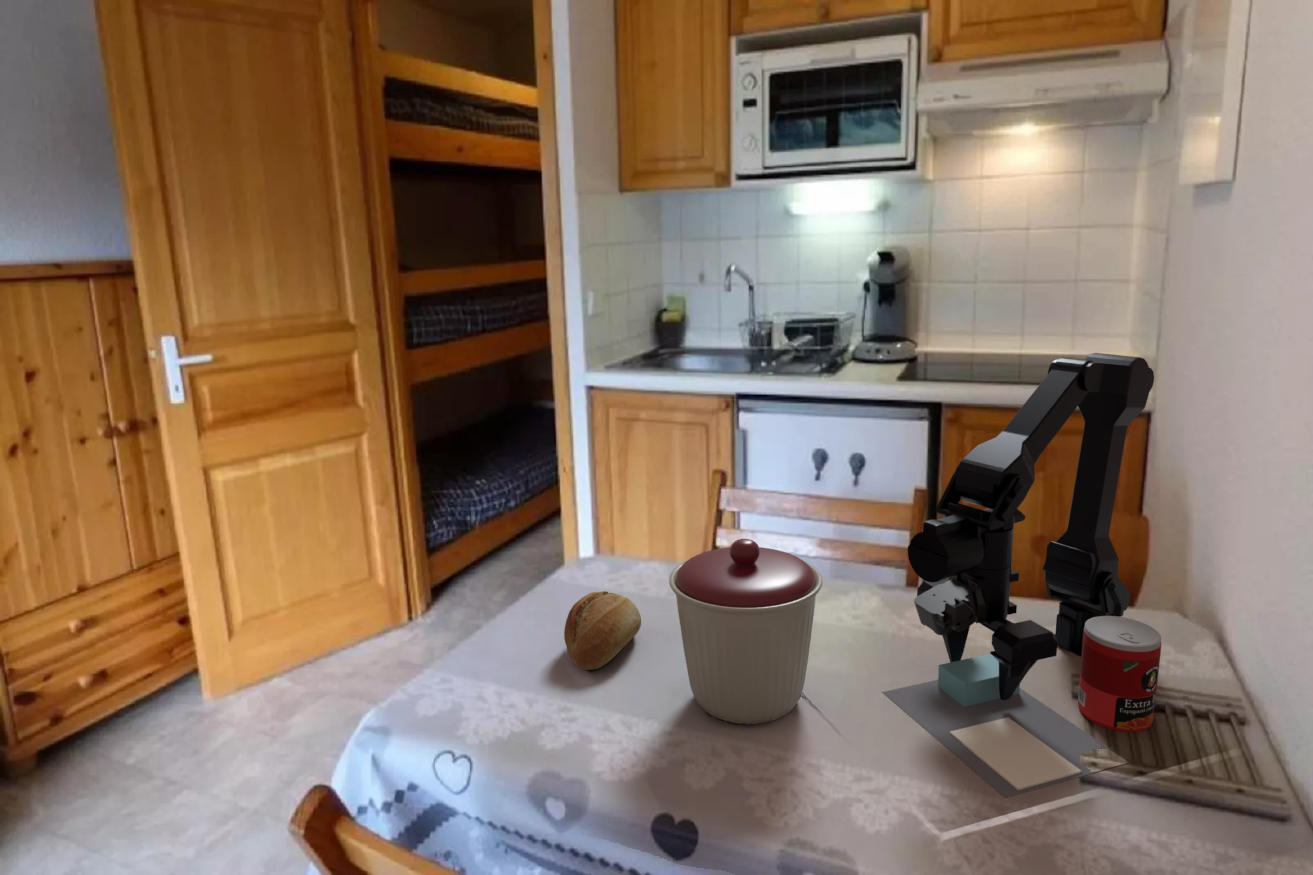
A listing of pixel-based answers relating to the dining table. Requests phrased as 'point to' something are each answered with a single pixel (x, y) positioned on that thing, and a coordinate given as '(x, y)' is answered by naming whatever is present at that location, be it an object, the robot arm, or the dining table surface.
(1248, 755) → the dining table surface
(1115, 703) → the canned food
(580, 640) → the bread roll
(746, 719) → the canister
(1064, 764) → the mat
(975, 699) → the block
